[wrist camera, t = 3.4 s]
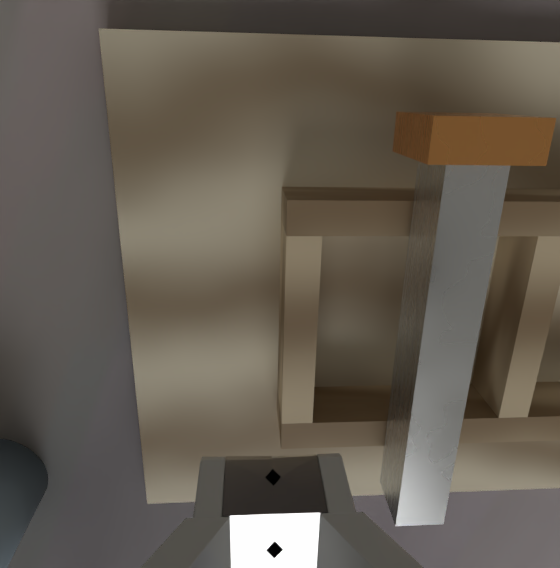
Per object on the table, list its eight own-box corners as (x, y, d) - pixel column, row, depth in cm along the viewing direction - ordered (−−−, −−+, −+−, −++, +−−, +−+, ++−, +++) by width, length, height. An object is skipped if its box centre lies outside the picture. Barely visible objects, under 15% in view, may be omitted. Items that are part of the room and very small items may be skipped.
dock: (579, 472, 25) (628, 527, 22) (151, 487, 24) (136, 549, 21) (707, 50, 18) (808, 40, 15) (106, 32, 17) (73, 16, 13)
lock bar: (435, 470, 20) (467, 534, 17) (360, 473, 20) (380, 538, 17) (495, 113, 15) (556, 118, 12) (396, 111, 15) (433, 115, 12)
